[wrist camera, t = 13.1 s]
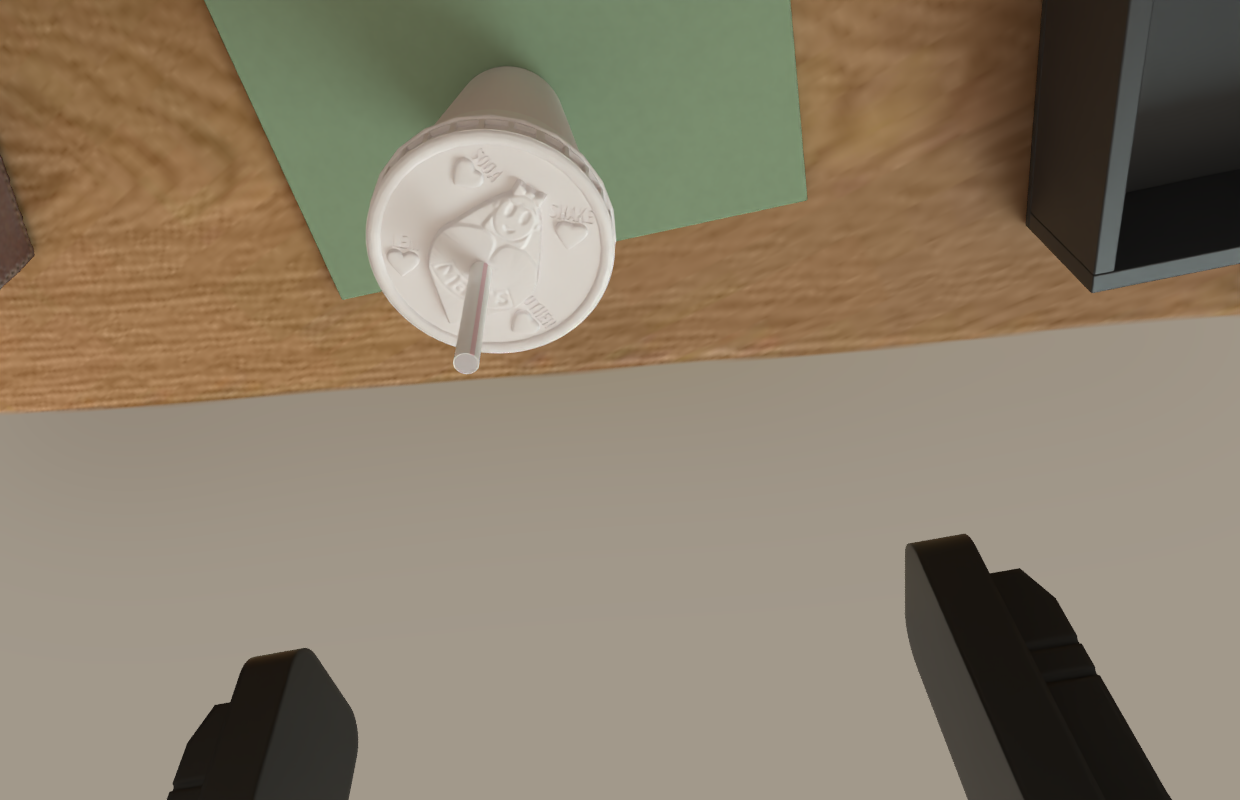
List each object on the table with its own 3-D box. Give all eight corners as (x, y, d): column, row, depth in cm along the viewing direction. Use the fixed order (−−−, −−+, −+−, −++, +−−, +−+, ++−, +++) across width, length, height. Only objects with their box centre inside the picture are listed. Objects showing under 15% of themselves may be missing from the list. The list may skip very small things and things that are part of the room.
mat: (193, -37, 27) (187, -34, 27) (771, -182, 26) (775, -181, 25) (344, 294, 34) (341, 300, 34) (804, 195, 33) (807, 200, 32)
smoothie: (383, 149, 30) (277, 386, 19) (470, -20, 27) (404, 143, 16) (544, 239, 33) (533, 496, 22) (640, 92, 30) (686, 302, 18)
